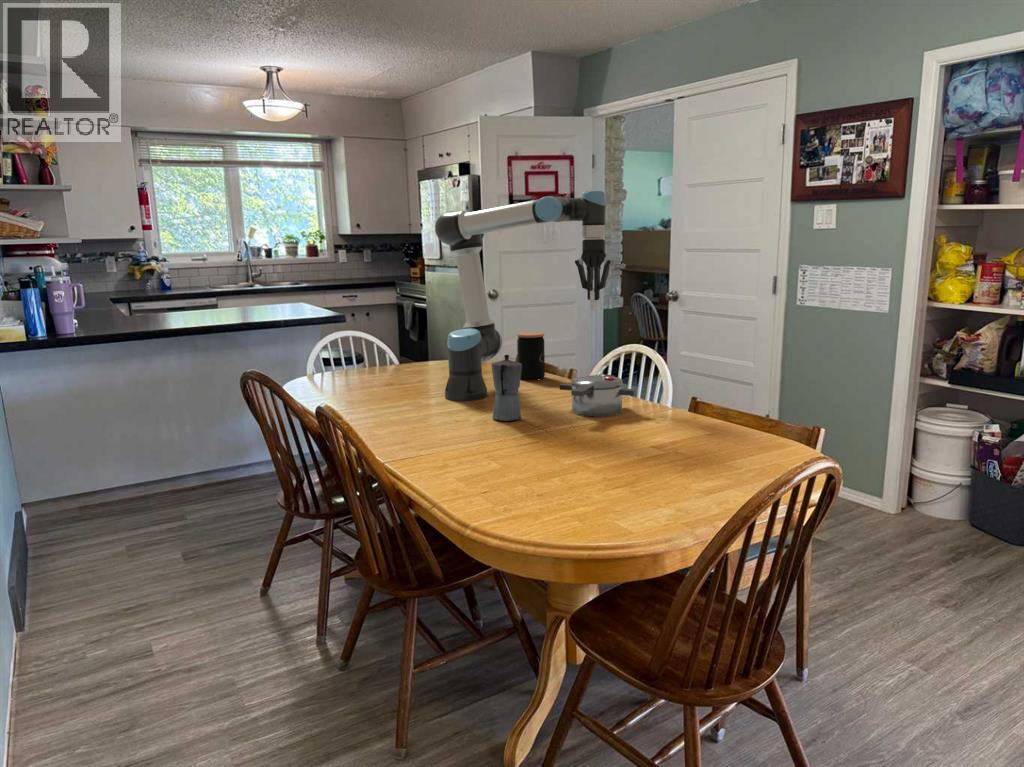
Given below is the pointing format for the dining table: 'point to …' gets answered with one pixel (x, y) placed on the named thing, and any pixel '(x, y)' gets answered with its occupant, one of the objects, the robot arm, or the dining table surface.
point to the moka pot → (506, 389)
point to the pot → (598, 401)
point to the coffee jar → (531, 355)
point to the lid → (594, 383)
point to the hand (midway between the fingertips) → (593, 309)
